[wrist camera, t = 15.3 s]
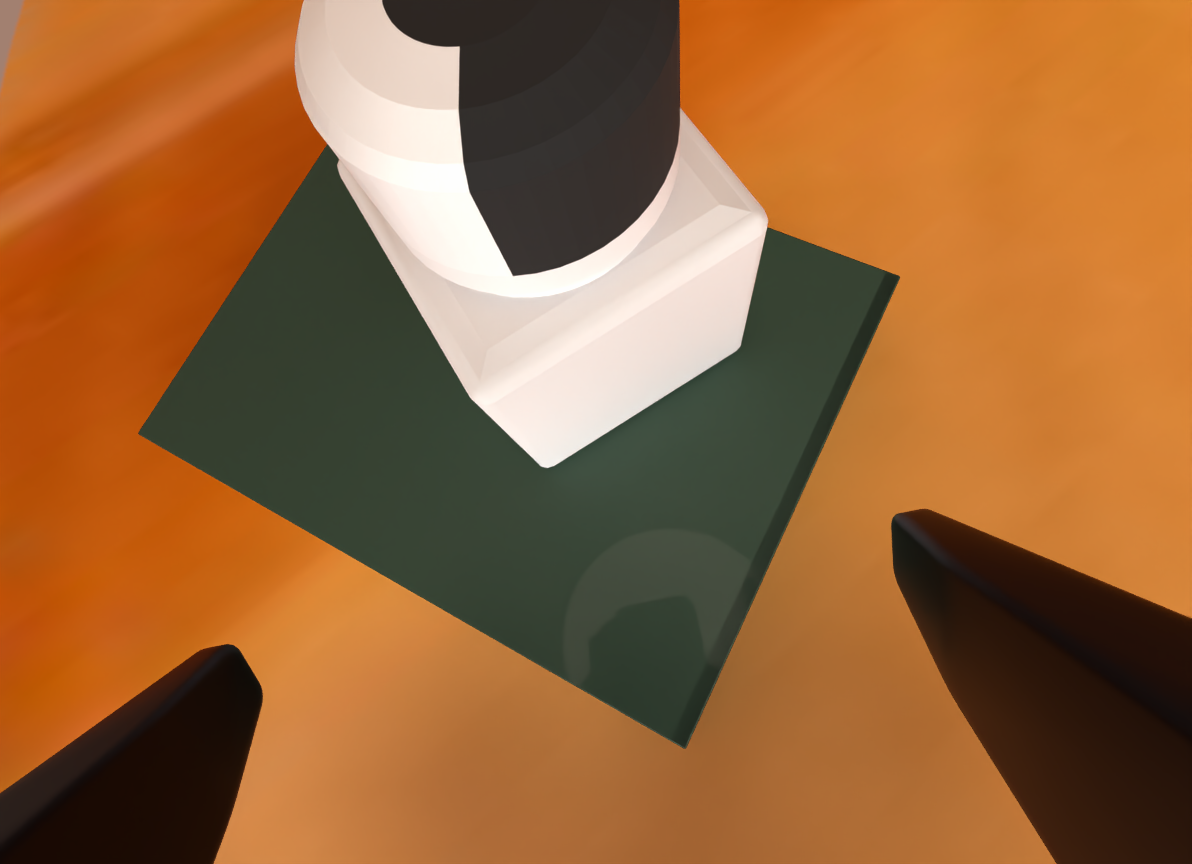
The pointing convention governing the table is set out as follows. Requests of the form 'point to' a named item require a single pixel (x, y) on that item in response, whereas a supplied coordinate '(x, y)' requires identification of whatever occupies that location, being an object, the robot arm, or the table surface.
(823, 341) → the book
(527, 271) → the medicine bottle
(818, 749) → the table surface
